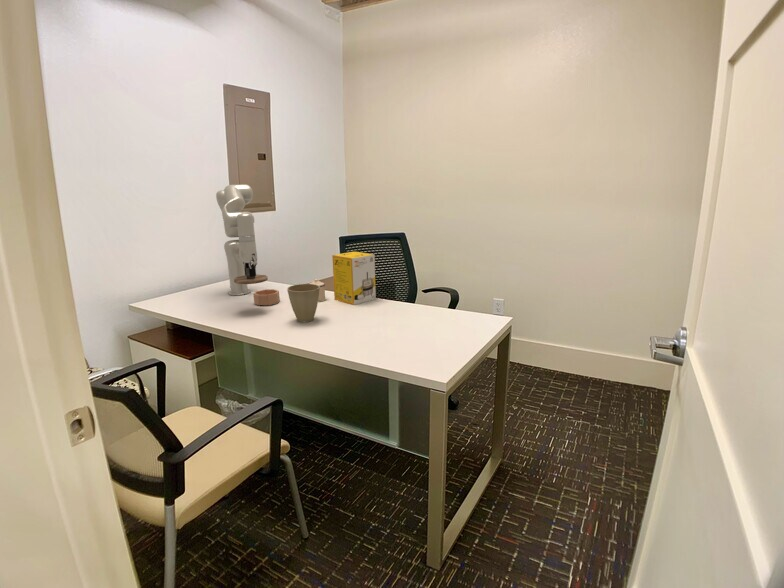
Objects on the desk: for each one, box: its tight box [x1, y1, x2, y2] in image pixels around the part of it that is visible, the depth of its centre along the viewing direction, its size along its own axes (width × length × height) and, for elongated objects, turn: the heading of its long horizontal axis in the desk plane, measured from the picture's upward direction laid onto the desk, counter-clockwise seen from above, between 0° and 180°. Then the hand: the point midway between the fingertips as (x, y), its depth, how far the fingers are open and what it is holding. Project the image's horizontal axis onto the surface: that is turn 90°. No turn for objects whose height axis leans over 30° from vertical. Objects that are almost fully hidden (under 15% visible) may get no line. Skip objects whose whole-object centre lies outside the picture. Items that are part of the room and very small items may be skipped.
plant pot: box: [286, 283, 320, 323], centre depth 207 cm, size 15×15×16 cm
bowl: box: [252, 289, 281, 306], centre depth 238 cm, size 12×12×6 cm
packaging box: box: [331, 251, 377, 306], centre depth 240 cm, size 16×16×25 cm
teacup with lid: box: [308, 278, 326, 303], centre depth 243 cm, size 12×9×12 cm
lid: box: [234, 268, 268, 285], centre depth 218 cm, size 16×16×6 cm
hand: (250, 275), depth 218 cm, fingers closed on lid, 4 cm apart
